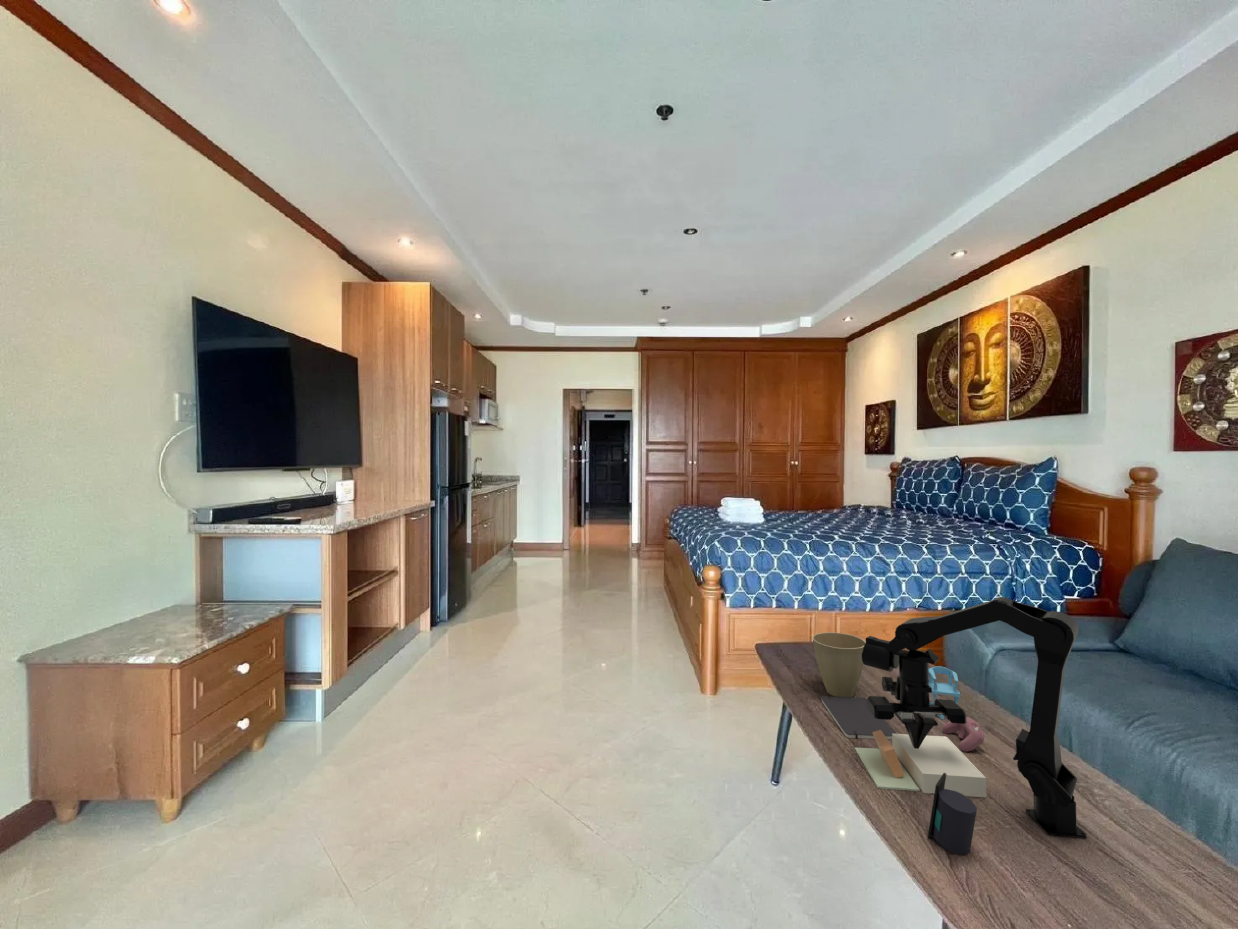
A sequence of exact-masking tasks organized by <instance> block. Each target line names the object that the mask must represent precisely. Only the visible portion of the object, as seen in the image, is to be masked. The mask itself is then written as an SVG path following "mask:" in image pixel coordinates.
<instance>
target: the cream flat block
mask: <svg viewBox="0 0 1238 929" xmlns="http://www.w3.org/2000/svg"><path fill="white" fill-rule="evenodd" d="M891 741H892V742H891V745H892V746H893V748H894V750H895V752H896V755H897V757H898V760H899V761H900V763H901V764H902V766H903V767H904V768H905V770H906V771H907V772H908V774H909V775H910V777H911V778H912V779H913V781H914V782H915V784H916V785H917V786H918V788H919V789H920V791H921V792H922V793H923V794H932V793H933V794H935V787H936V784H937V782H938V781H939V779H940V778H941V776H942V775H943V773H946V780H945V786H944V789H948V790H952V791H956V792H959V793H961V794H963V795H964V796H965V797H975V798H987V796H988V795H987V777H986V776H985V775H984V774H983V773H982V772H981V771H980V770H979V769H978V768H977V767H976V766H975V765H974V763H972V761H970V759H969V758H967V756H966V755H965V754H964V753H963V751H961V750H960V749H959V747H958V746H956V745H955V744H954V743H953V742H952V740H950V739H949V737H947V736H944V735H943V736H942V735H928V734H927V735H926V737H925V739H924V740H923V742H922V744H921V745H920V747H919V749H915V748H914V747H913V745H912V743H911V740H910V737H909V735H908V733H907V734H905V733H897V734H892V739H891ZM933 794H932V795H933Z"/></svg>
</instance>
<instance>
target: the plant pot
mask: <svg viewBox="0 0 1238 929" xmlns="http://www.w3.org/2000/svg"><path fill="white" fill-rule="evenodd" d="M865 643H866V640H865V639H863V638H861V637H858V636H855V635H853V634H849V633H843V632H842V633H841V632H820V633H819V632H818V633H816V634H814V635H813V636H812V644H813V648H814V649H813V650H814V654H815V659H816V663H817V666H818V670H819V673H820V677H821V680H822V682H823V684H824V687H825V689H826V692H827V693H828V695H830V696H831V697H854V695H855V692H856V691H857V689H858V688H857V687H858V685H859V683H860V682H859V681H860V678H861V676H862V671H863V667H864V664H863V661H862V652H863V648H864V645H865Z"/></svg>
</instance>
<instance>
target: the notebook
mask: <svg viewBox="0 0 1238 929" xmlns="http://www.w3.org/2000/svg"><path fill="white" fill-rule="evenodd" d="M820 698H821V703H822V704H823V705H824V706H823V707H825V709H826V710H827V711H828V713H829V714H830V715H831V717H832V719H833V720H834V722H835V723H836V725H837V726H838V727H839V729H840V730H841V732H842V733H843V735H844V736H845V737H846V738H848V739H864V740H865V739H868V740H871V739H872V740H875V738H874V736H873V733H872V732H875V731H878V730H881V731H882V732H883V734H884V735H885V737H886V738H887V739H888V740H892V734H898V733H897V732H896V730H895V729H893V727H892V726H891V725H890V724H889V722H888V721H887V720H885V719H877V718H874V716H873V715H872V714H871V712H870V711H869V710H868V708H867V698H866V697H857V696H852V697H835V696H831V695H830V696H824V695H823V696H821V697H820Z"/></svg>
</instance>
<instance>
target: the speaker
mask: <svg viewBox="0 0 1238 929" xmlns="http://www.w3.org/2000/svg"><path fill="white" fill-rule="evenodd" d="M945 780H946V773H943V775H942V776H941V778H940V779H939V781H938V782H937V784H936V787H935V794H934V795H933V800H932V808H931V814H930V820H929V826H928V834H927V838H928V839H931V838H932V837H934V839H935V842H936V843H938V844H939V845H940V846H942V847H943V848H944V849H945V850H946V851H948V852H949V853H952V854H957V855H961V856H966V855H968V854H970V853H971V847H972V841H973V836H974V829H975V823H976V818H977V817H976V816H977V812H978V808H977V806H976V805H975V803H974V802H973V800H971V799H970V798H968V796H964V795H963V794H961V793H959V792H956V791H952V790H948V789H944V786H945Z"/></svg>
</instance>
